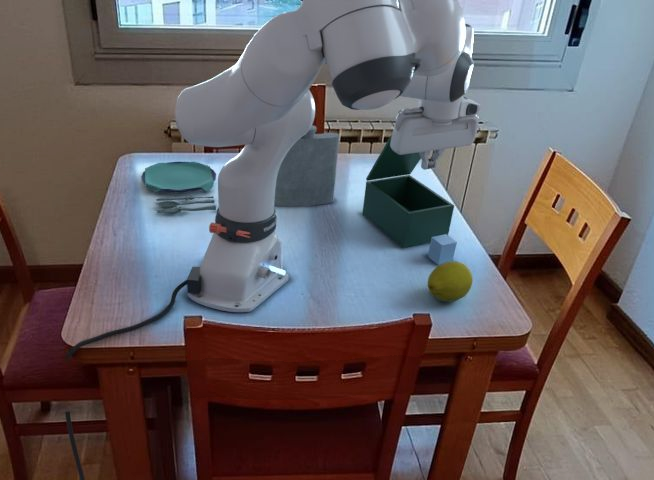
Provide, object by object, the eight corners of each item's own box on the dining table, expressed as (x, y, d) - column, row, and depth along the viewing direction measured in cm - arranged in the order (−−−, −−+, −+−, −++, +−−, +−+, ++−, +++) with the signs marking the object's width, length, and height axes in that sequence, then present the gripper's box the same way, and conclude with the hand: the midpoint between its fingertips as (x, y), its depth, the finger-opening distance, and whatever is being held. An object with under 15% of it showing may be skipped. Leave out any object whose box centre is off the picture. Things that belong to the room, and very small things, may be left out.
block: (452, 261, 138) (457, 242, 135) (438, 265, 137) (442, 245, 134) (442, 253, 141) (446, 234, 138) (427, 256, 139) (431, 236, 137)
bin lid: (446, 120, 138) (435, 100, 140) (398, 126, 133) (388, 105, 135) (410, 174, 155) (401, 156, 157) (366, 181, 150) (358, 162, 152)
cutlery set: (213, 166, 176) (212, 158, 175) (224, 213, 153) (224, 204, 151) (141, 169, 173) (140, 161, 171) (141, 217, 149) (140, 208, 148)
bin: (447, 239, 147) (454, 205, 142) (402, 248, 142) (408, 213, 137) (404, 206, 160) (409, 174, 155) (362, 214, 156) (366, 181, 151)
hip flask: (331, 197, 163) (338, 122, 151) (336, 204, 160) (343, 127, 148) (272, 201, 159) (274, 124, 148) (275, 208, 156) (278, 130, 145)
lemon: (453, 283, 131) (461, 250, 126) (478, 302, 125) (487, 268, 120) (412, 294, 126) (418, 260, 122) (435, 314, 121) (443, 280, 116)
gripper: (406, 114, 123) (396, 179, 131) (487, 105, 131) (473, 167, 139) (389, 105, 128) (380, 168, 136) (469, 96, 135) (456, 157, 143)
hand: (428, 168), depth 137 cm, fingers closed
